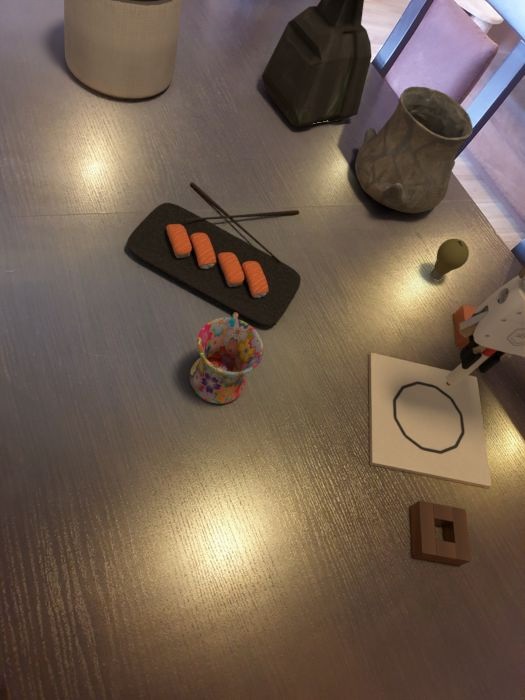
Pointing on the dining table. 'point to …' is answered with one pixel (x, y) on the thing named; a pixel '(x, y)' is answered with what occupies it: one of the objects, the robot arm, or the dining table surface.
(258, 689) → the dining table surface
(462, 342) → the pen holder
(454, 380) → the marker
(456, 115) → the vessel
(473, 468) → the board
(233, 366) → the mug
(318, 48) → the bottle
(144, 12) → the planter
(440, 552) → the marker stand
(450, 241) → the light bulb
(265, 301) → the sushi plate
